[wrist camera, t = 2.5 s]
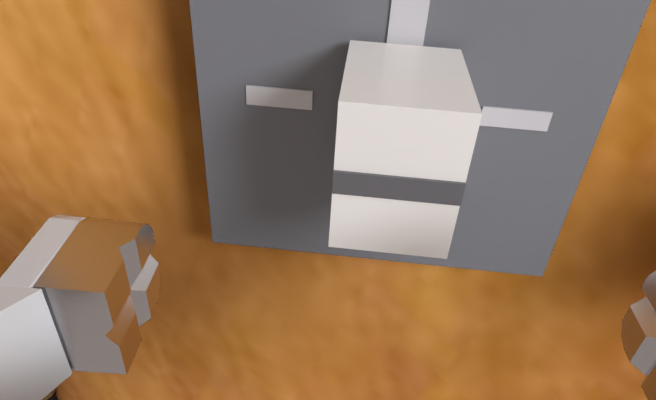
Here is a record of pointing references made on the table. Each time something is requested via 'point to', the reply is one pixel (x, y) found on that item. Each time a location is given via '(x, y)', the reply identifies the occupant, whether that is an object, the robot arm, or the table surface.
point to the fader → (402, 148)
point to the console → (322, 108)
